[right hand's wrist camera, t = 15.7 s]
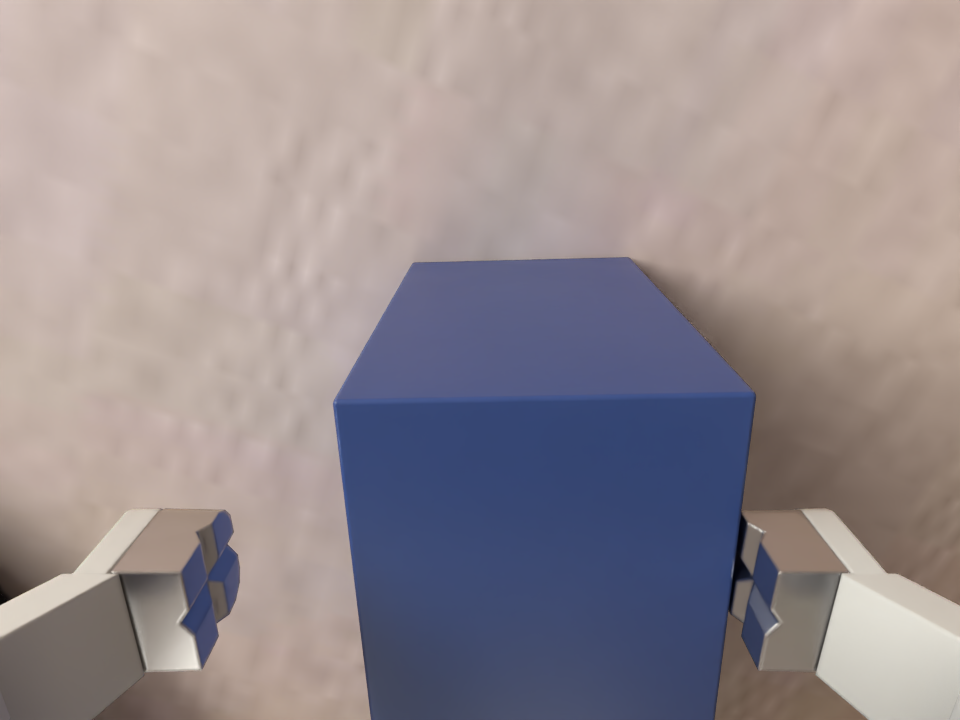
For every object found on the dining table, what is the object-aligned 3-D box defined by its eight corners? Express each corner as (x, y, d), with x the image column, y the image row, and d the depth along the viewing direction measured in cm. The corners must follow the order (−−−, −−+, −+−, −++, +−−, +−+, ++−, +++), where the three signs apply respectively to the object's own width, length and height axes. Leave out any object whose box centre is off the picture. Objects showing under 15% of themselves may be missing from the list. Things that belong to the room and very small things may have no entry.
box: (411, 262, 18) (331, 401, 9) (630, 256, 18) (758, 393, 9) (448, 791, 25) (422, 1148, 16) (603, 791, 25) (659, 1153, 16)
